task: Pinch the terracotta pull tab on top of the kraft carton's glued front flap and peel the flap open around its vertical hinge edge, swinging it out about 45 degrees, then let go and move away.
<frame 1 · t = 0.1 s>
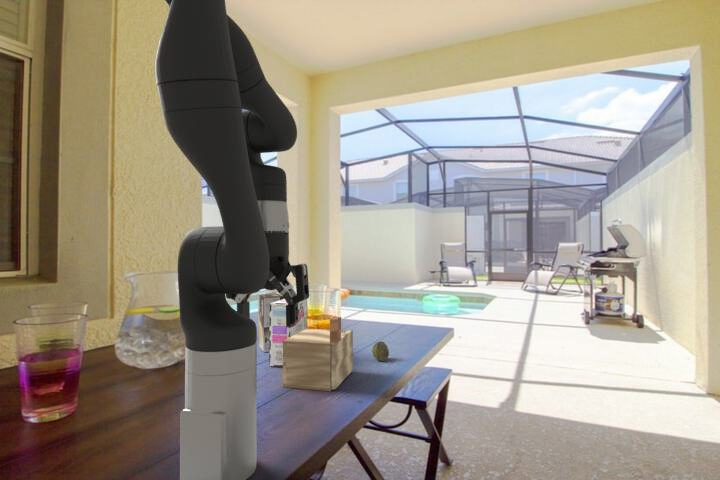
hand: (267, 325, 68), 17 cm above the table, tool pointing down, fingers open, 8 cm apart
candy box: (289, 361, 110), on the table
carton: (317, 378, 94), on the table
lime: (380, 360, 110), on the table
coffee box: (270, 348, 123), on the table
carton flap: (342, 346, 93), point 8 cm above the table, hinge at 0.0°
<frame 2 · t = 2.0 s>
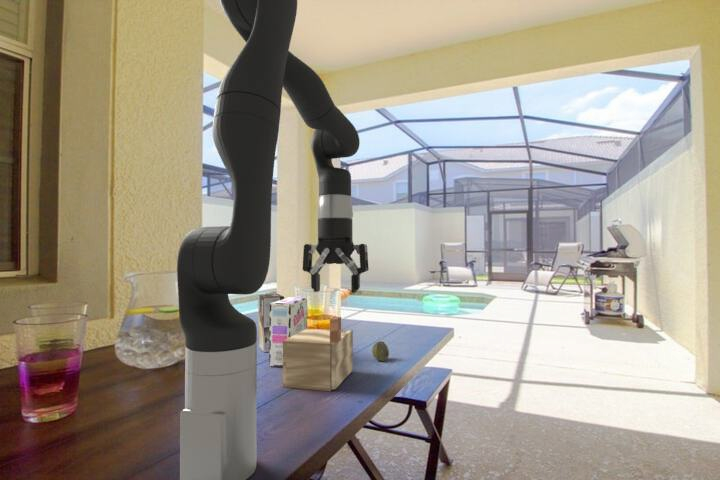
hand: (335, 291, 88), 21 cm above the table, tool pointing down, fingers open, 8 cm apart
nothing on the table moved.
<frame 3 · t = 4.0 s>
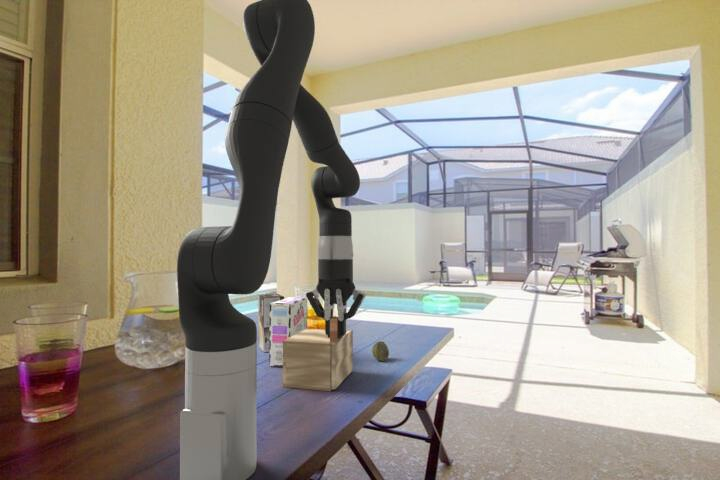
hand: (335, 337, 87), 11 cm above the table, tool pointing down, fingers closed, pressing on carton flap
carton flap: (342, 346, 93), point 8 cm above the table, hinge at 0.0°, touching gripper
everything else where it was.
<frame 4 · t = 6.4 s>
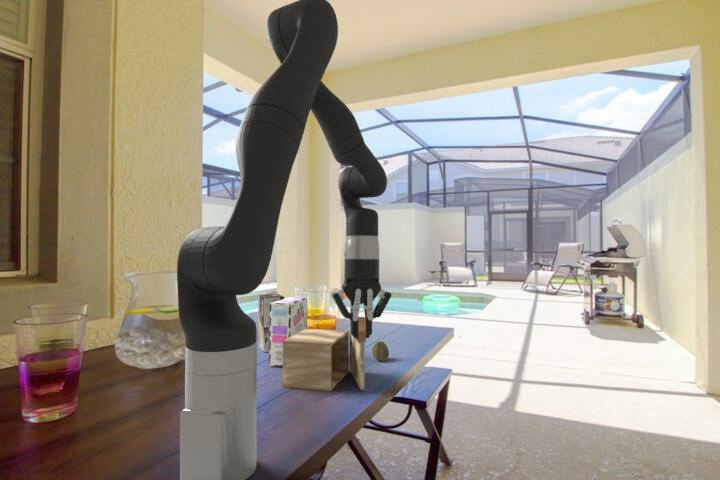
hand: (361, 337, 87), 11 cm above the table, tool pointing down, fingers closed on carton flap, 2 cm apart
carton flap: (356, 346, 93), point 8 cm above the table, hinge at 25.3°, touching gripper
everything else where it was.
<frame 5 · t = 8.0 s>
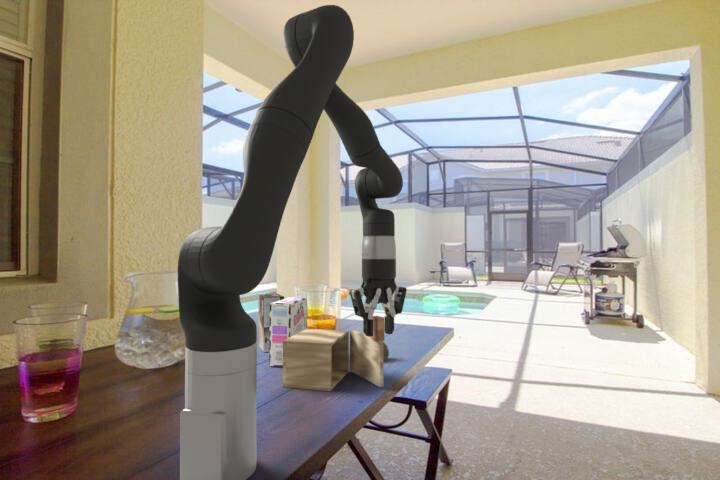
hand: (379, 334, 89), 11 cm above the table, tool pointing down, fingers open, 4 cm apart
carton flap: (365, 345, 93), point 8 cm above the table, hinge at 43.2°
everything else where it was.
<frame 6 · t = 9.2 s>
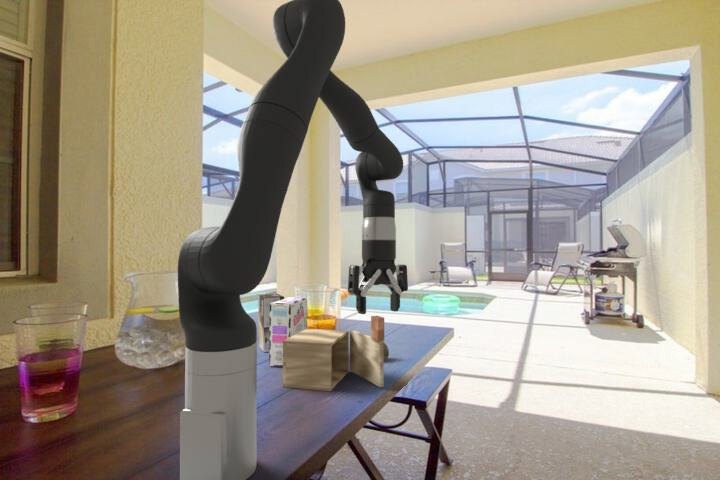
hand: (378, 312, 89), 16 cm above the table, tool pointing down, fingers open, 8 cm apart
nothing on the table moved.
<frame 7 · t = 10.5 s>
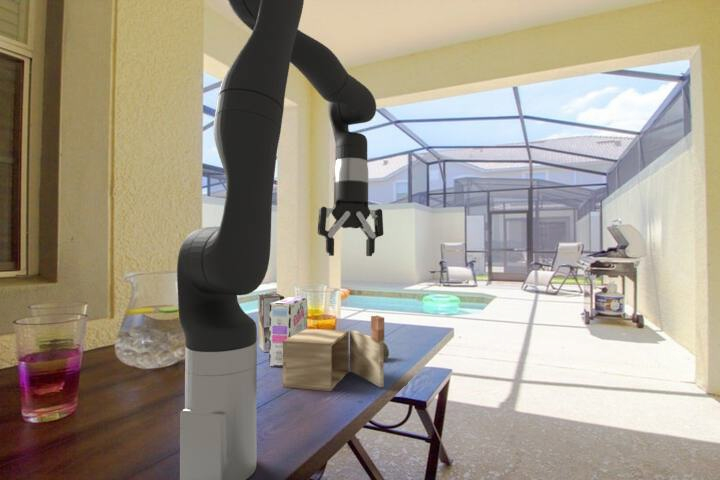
hand: (350, 255, 88), 29 cm above the table, tool pointing down, fingers open, 8 cm apart
nothing on the table moved.
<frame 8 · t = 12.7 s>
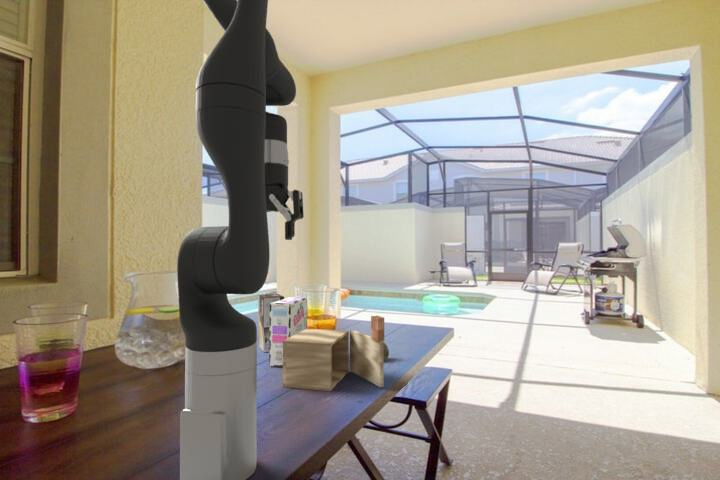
hand: (270, 239, 87), 32 cm above the table, tool pointing down, fingers open, 8 cm apart
nothing on the table moved.
at the end: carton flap at +43° (first picture: +0°); the gripper is holding nothing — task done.
